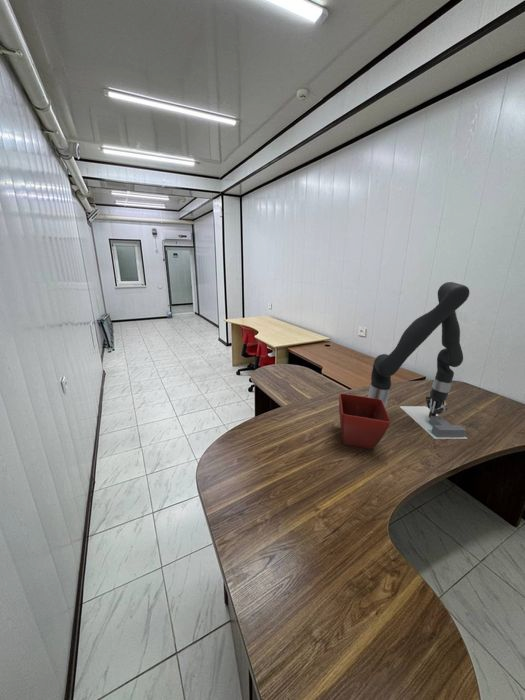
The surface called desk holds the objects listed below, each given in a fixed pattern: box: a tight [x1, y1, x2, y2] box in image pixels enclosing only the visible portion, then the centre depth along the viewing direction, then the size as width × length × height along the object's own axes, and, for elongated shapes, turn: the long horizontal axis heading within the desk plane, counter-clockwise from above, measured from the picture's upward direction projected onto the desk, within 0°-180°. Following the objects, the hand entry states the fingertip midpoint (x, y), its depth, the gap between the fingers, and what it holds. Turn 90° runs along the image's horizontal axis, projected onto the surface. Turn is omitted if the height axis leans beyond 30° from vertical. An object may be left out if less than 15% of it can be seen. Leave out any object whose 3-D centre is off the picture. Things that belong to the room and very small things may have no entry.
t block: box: [429, 415, 467, 437], centre depth 135 cm, size 14×12×4 cm
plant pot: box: [338, 392, 392, 450], centre depth 122 cm, size 19×19×17 cm
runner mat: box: [399, 405, 468, 440], centre depth 143 cm, size 17×29×1 cm, turn 6°
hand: (431, 418), depth 143 cm, fingers closed
